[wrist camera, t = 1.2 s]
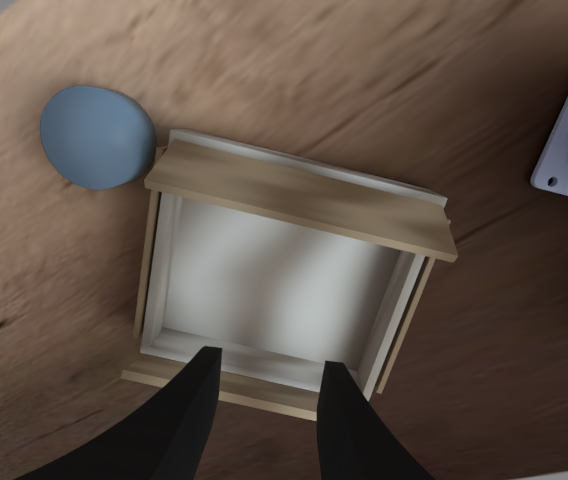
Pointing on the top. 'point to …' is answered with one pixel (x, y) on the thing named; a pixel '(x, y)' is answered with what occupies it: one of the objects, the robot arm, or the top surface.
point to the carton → (275, 284)
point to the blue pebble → (97, 137)
